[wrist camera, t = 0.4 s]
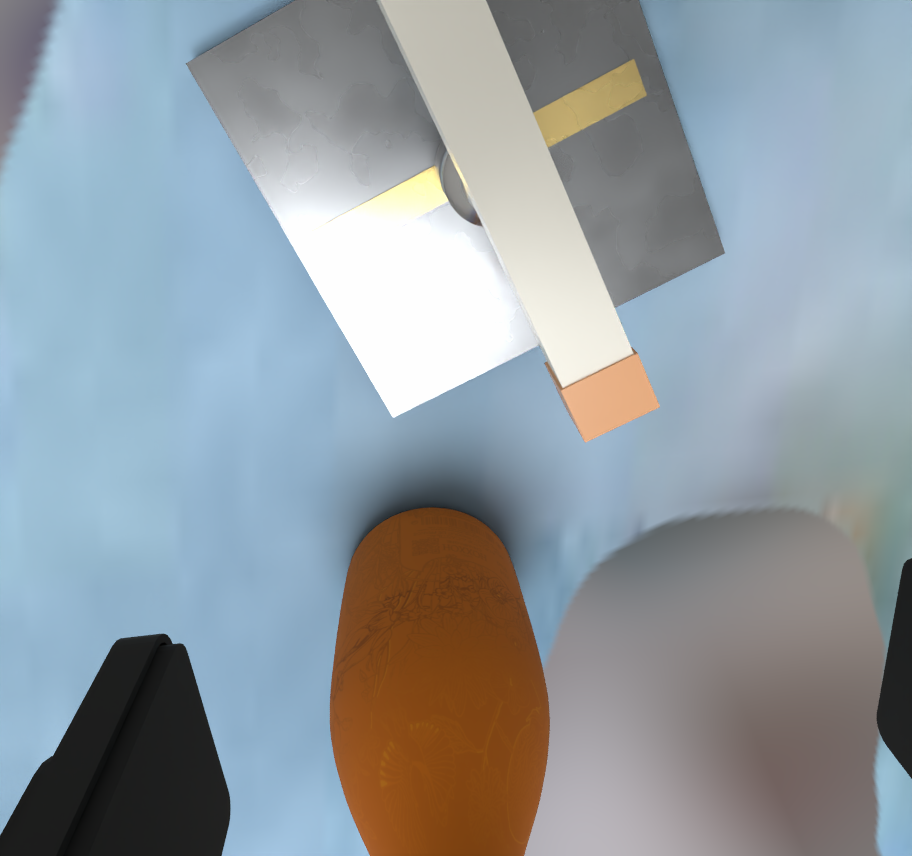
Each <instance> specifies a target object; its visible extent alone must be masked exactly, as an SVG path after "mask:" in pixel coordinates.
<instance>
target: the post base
mask: <svg viewBox="0 0 912 856" xmlns="http://www.w3.org/2000/svg"><path fill="white" fill-rule="evenodd" d="M486 2H487V4H488V6H489V9H490V11H491V13H492V16H493V18H494V21H495V23H496V25H497V28H498V30H499V33H500V35H501V37H502V40H503V42H504V45H505V47H506V49H507V52H508V54H509V57H510V59H511V61H512V64H513V66H514V69H515V71H516V73H517V76H518V78H519V80H520V83H521V85H522V88H523V90H524V92H525V95H526V97H527V100H528V102H529V104H530V107H531V109H532V112H533V114H534V116H535V119H536V121H537V124H538V126H539V128H540V131H541V133H542V136H543V138H544V140H545V143H546V145H547V147H548V150H549V152H550V155H551V157H552V159H553V162H554V164H555V167H556V169H557V171H558V174H559V176H560V179H561V181H562V183H563V186H564V188H565V191H566V193H567V195H568V198H569V200H570V203H571V205H572V207H573V210H574V212H575V214H576V217H577V219H578V222H579V224H580V226H581V229H582V231H583V234H584V236H585V238H586V241H587V243H588V246H589V248H590V250H591V253H592V255H593V258H594V260H595V262H596V265H597V267H598V270H599V272H600V274H601V277H602V279H603V282H604V284H605V286H606V289H607V291H608V293H609V296H610V298H611V301H612V303H613V305H614V308H615V307H617V306H619V305H621V304H623V303H626V302H628V301H630V300H632V299H634V298H636V297H638V296H640V295H642V294H644V293H646V292H648V291H650V290H652V289H654V288H656V287H658V286H660V285H662V284H664V283H666V282H668V281H670V280H672V279H674V278H676V277H678V276H680V275H682V274H684V273H686V272H688V271H690V270H692V269H694V268H696V267H698V266H700V265H702V264H704V263H706V262H708V261H710V260H712V259H714V258H716V257H718V256H720V255H722V254H724V253H725V252H724V249H723V246H722V243H721V240H720V237H719V234H718V231H717V228H716V225H715V222H714V219H713V216H712V214H711V211H710V208H709V205H708V202H707V199H706V196H705V193H704V190H703V187H702V184H701V181H700V178H699V176H698V173H697V170H696V167H695V164H694V161H693V158H692V155H691V152H690V149H689V146H688V143H687V140H686V138H685V135H684V132H683V129H682V126H681V123H680V120H679V117H678V114H677V111H676V108H675V105H674V102H673V100H672V97H671V94H670V91H669V88H668V85H667V82H666V79H665V76H664V73H663V70H662V67H661V64H660V62H659V59H658V56H657V53H656V50H655V47H654V44H653V41H652V38H651V35H650V32H649V29H648V26H647V24H646V21H645V18H644V15H643V12H642V9H641V6H640V3H639V0H486ZM186 65H187V66H188V68H189V70H190V72H191V73H192V75H193V77H194V78H195V80H196V82H197V83H198V85H199V87H200V89H201V90H202V92H203V94H204V95H205V97H206V99H207V101H208V102H209V104H210V106H211V107H212V109H213V111H214V113H215V114H216V116H217V118H218V119H219V121H220V123H221V124H222V126H223V128H224V130H225V131H226V133H227V135H228V136H229V138H230V140H231V142H232V143H233V145H234V147H235V148H236V150H237V152H238V154H239V155H240V157H241V159H242V160H243V162H244V164H245V165H246V167H247V169H248V171H249V172H250V174H251V176H252V177H253V179H254V181H255V183H256V184H257V186H258V188H259V189H260V191H261V193H262V195H263V196H264V198H265V200H266V201H267V203H268V205H269V206H270V208H271V210H272V212H273V213H274V215H275V217H276V218H277V220H278V222H279V224H280V225H281V227H282V229H283V230H284V232H285V234H286V236H287V237H288V239H289V241H290V242H291V244H292V246H293V247H294V249H295V251H296V253H297V254H298V256H299V258H300V259H301V261H302V263H303V265H304V266H305V268H306V270H307V271H308V273H309V275H310V277H311V278H312V280H313V282H314V283H315V285H316V287H317V288H318V290H319V292H320V294H321V295H322V297H323V299H324V300H325V302H326V304H327V306H328V307H329V309H330V311H331V312H332V314H333V316H334V318H335V319H336V321H337V323H338V324H339V326H340V328H341V329H342V331H343V333H344V335H345V336H346V338H347V340H348V341H349V343H350V345H351V347H352V348H353V350H354V352H355V353H356V355H357V357H358V359H359V360H360V362H361V364H362V365H363V367H364V369H365V370H366V372H367V374H368V376H369V377H370V379H371V381H372V382H373V384H374V386H375V388H376V389H377V391H378V393H379V394H380V396H381V398H382V400H383V401H384V403H385V405H386V406H387V408H388V410H389V411H390V413H391V415H392V417H393V418H394V417H396V416H398V415H400V414H402V413H404V412H406V411H408V410H410V409H412V408H414V407H416V406H418V405H420V404H422V403H424V402H426V401H428V400H430V399H432V398H434V397H436V396H438V395H440V394H442V393H444V392H446V391H448V390H450V389H452V388H454V387H456V386H458V385H460V384H462V383H464V382H466V381H468V380H470V379H472V378H474V377H476V376H478V375H480V374H482V373H484V372H486V371H488V370H490V369H492V368H494V367H496V366H499V365H501V364H503V363H505V362H507V361H509V360H511V359H513V358H515V357H517V356H519V355H521V354H523V353H525V352H527V351H529V350H531V349H533V348H535V347H537V346H539V343H538V341H537V339H536V337H535V335H534V333H533V331H532V329H531V326H530V324H529V322H528V320H527V318H526V316H525V314H524V312H523V310H522V307H521V305H520V303H519V301H518V299H517V297H516V295H515V293H514V290H513V288H512V286H511V284H510V282H509V280H508V278H507V276H506V274H505V271H504V269H503V267H502V265H501V263H500V261H499V259H498V257H497V254H496V252H495V250H494V248H493V246H492V244H491V242H490V240H489V238H488V235H487V233H486V231H485V229H484V227H483V225H482V223H481V221H480V218H479V216H478V214H477V212H476V210H475V209H474V208H473V206H472V205H471V204H470V203H469V201H468V200H467V199H466V197H465V195H464V194H463V191H462V188H461V183H460V176H459V174H458V172H457V170H456V168H455V166H454V163H453V161H452V159H451V157H450V155H449V153H448V151H447V149H446V146H445V144H444V142H443V140H442V138H441V136H440V134H439V132H438V130H437V127H436V125H435V123H434V121H433V119H432V117H431V115H430V113H429V110H428V108H427V106H426V104H425V102H424V100H423V98H422V96H421V94H420V91H419V89H418V87H417V85H416V83H415V81H414V79H413V77H412V74H411V72H410V70H409V68H408V66H407V64H406V62H405V60H404V58H403V55H402V53H401V51H400V49H399V47H398V45H397V43H396V41H395V38H394V36H393V34H392V32H391V30H390V28H389V26H388V24H387V22H386V19H385V17H384V15H383V13H382V11H381V9H380V7H379V5H378V3H377V0H295V1H293V2H291V3H290V4H288V5H286V6H285V7H283V8H281V9H279V10H278V11H276V12H274V13H272V14H271V15H269V16H267V17H266V18H264V19H262V20H260V21H259V22H257V23H255V24H253V25H252V26H250V27H248V28H247V29H245V30H243V31H241V32H240V33H238V34H236V35H234V36H233V37H231V38H229V39H228V40H226V41H224V42H222V43H221V44H219V45H217V46H215V47H214V48H212V49H210V50H209V51H207V52H205V53H203V54H202V55H200V56H198V57H196V58H195V59H193V60H191V61H190V62H188V63H186Z"/></svg>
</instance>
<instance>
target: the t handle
mask: <svg viewBox="0 0 912 856" xmlns="http://www.w3.org/2000/svg"><path fill="white" fill-rule="evenodd" d="M377 3H378V5H379V7H380V9H381V11H382V13H383V15H384V17H385V19H386V22H387V24H388V26H389V28H390V30H391V32H392V34H393V36H394V38H395V41H396V43H397V45H398V47H399V49H400V51H401V53H402V55H403V58H404V60H405V62H406V64H407V66H408V68H409V70H410V72H411V74H412V77H413V79H414V81H415V83H416V85H417V87H418V89H419V91H420V94H421V96H422V98H423V100H424V102H425V104H426V106H427V108H428V110H429V113H430V115H431V117H432V119H433V121H434V123H435V125H436V127H437V130H438V132H439V134H440V136H441V138H442V140H443V142H444V144H445V146H446V149H447V151H448V153H449V155H450V157H451V159H452V161H453V163H454V166H455V168H456V170H457V172H458V174H459V176H460V183H461V188H462V191H463V194H464V195H465V197H466V199H467V200H468V201H469V203H470V204H471V205H472V206H473V208H474V209H475V210H476V212H477V214H478V216H479V218H480V221H481V223H482V225H483V227H484V229H485V231H486V233H487V235H488V238H489V240H490V242H491V244H492V246H493V248H494V250H495V252H496V254H497V257H498V259H499V261H500V263H501V265H502V267H503V269H504V271H505V274H506V276H507V278H508V280H509V282H510V284H511V286H512V288H513V290H514V293H515V295H516V297H517V299H518V301H519V303H520V305H521V307H522V310H523V312H524V314H525V316H526V318H527V320H528V322H529V324H530V326H531V329H532V331H533V333H534V335H535V337H536V339H537V341H538V343H539V346H540V348H541V350H542V352H543V354H544V356H545V358H546V360H547V362H545V365H546V367H547V370H548V372H549V374H550V376H551V378H552V380H553V382H554V384H555V386H556V389H557V391H558V393H559V395H560V397H561V399H562V401H563V403H564V405H565V407H566V410H567V411H568V413H569V415H570V417H571V419H572V420H573V422H574V424H575V426H576V427H577V429H578V431H579V433H580V434H581V436H582V438H583V440H584V441H585V442H587V441H589V440H592V439H594V438H596V437H598V436H600V435H602V434H604V433H606V432H608V431H610V430H613V429H615V428H617V427H619V426H621V425H623V424H625V423H627V422H629V421H631V420H634V419H636V418H638V417H640V416H642V415H644V414H646V413H648V412H650V411H653V410H655V409H657V408H659V407H660V406H659V403H658V401H657V399H656V396H655V394H654V391H653V389H652V387H651V384H650V382H649V379H648V377H647V375H646V372H645V370H644V367H643V365H642V363H641V360H640V358H639V355H638V353H637V352H636V351H635V350H634V349H633V348H632V347H631V346H630V344H629V341H628V339H627V337H626V334H625V332H624V329H623V327H622V325H621V322H620V320H619V317H618V315H617V313H616V310H615V308H614V305H613V303H612V301H611V298H610V296H609V293H608V291H607V289H606V286H605V284H604V282H603V279H602V277H601V274H600V272H599V270H598V267H597V265H596V262H595V260H594V258H593V255H592V253H591V250H590V248H589V246H588V243H587V241H586V238H585V236H584V234H583V231H582V229H581V226H580V224H579V222H578V219H577V217H576V214H575V212H574V210H573V207H572V205H571V203H570V200H569V198H568V195H567V193H566V191H565V188H564V186H563V183H562V181H561V179H560V176H559V174H558V171H557V169H556V167H555V164H554V162H553V159H552V157H551V155H550V152H549V150H548V147H547V145H546V143H545V140H544V138H543V136H542V133H541V131H540V128H539V126H538V124H537V121H536V119H535V116H534V114H533V112H532V109H531V107H530V104H529V102H528V100H527V97H526V95H525V92H524V90H523V88H522V85H521V83H520V80H519V78H518V76H517V73H516V71H515V69H514V66H513V64H512V61H511V59H510V57H509V54H508V52H507V49H506V47H505V45H504V42H503V40H502V37H501V35H500V33H499V30H498V28H497V25H496V23H495V21H494V18H493V16H492V13H491V11H490V9H489V6H488V4H487V2H486V0H377Z"/></svg>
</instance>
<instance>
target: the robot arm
mask: <svg viewBox="0 0 912 856" xmlns="http://www.w3.org/2000/svg"><path fill="white" fill-rule="evenodd" d="M877 724H878V728H879V732H880V734H881V736H882V739H883V741H884V742H885V744H886V745H887V747H888V748H889V749H890V751H891V752H892V753H893V755H894V756H895V757H896V759H897V760H898V761H899V763H900V764H901V765H902V767H903V768H904V769H905V770H906V772H907V773H908V774H909V776H910V777H911V778H912V558H911V559H909V560H907V561H906V562H905V563H904V566H903V569H902V574H901V580H900V585H899V591H898V596H897V602H896V608H895V613H894V619H893V625H892V630H891V636H890V642H889V647H888V653H887V659H886V664H885V670H884V676H883V681H882V687H881V693H880V698H879V705H878V710H877ZM229 821H230V796H229V791H228V788H227V785H226V781H225V778H224V774H223V771H222V768H221V764H220V761H219V757H218V754H217V751H216V747H215V744H214V741H213V737H212V734H211V730H210V727H209V724H208V720H207V717H206V713H205V710H204V707H203V703H202V700H201V697H200V693H199V690H198V686H197V683H196V680H195V676H194V673H193V669H192V666H191V663H190V659H189V656H188V653H187V650H186V648H185V646H184V645H183V644H180V643H179V644H172V641H171V639H170V638H169V637H168V635H166V634H156V635H147V636H138V637H130V638H121V639H119V640H117V641H116V642H115V643H114V645H113V646H112V648H111V649H110V651H109V653H108V655H107V657H106V659H105V661H104V662H103V664H102V666H101V668H100V670H99V672H98V674H97V675H96V677H95V679H94V681H93V683H92V685H91V687H90V688H89V690H88V692H87V694H86V696H85V698H84V700H83V701H82V703H81V705H80V707H79V709H78V711H77V713H76V714H75V716H74V718H73V720H72V722H71V724H70V725H69V727H68V729H67V731H66V733H65V735H64V737H63V738H62V740H61V742H60V744H59V746H58V748H57V750H56V751H55V753H54V755H53V756H51V757H50V758H49V759H47V760H46V761H44V762H43V763H42V764H41V766H40V767H39V768H38V770H37V771H36V773H35V774H34V776H33V777H32V779H31V781H30V783H29V785H28V786H27V788H26V790H25V792H24V794H23V795H22V797H21V799H20V801H19V803H18V805H17V806H16V808H15V810H14V812H13V814H12V815H11V817H10V819H9V821H8V823H7V824H6V826H5V828H4V830H3V832H2V833H1V835H0V856H221V855H222V851H223V847H224V843H225V839H226V835H227V830H228V826H229Z"/></svg>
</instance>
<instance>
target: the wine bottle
mask: <svg viewBox="0 0 912 856" xmlns="http://www.w3.org/2000/svg"><path fill="white" fill-rule="evenodd" d="M330 731H331V740H332V746H333V752H334V758H335V763H336V767H337V771H338V774H339V778H340V781H341V785H342V788H343V791H344V795H345V798H346V801H347V804H348V806H349V809H350V812H351V814H352V817H353V819H354V821H355V824H356V826H357V828H358V831H359V833H360V835H361V838H362V840H363V842H364V844H365V846H366V848H367V850H368V852H369V854H370V856H524V854H525V850H526V847H527V843H528V840H529V836H530V833H531V829H532V826H533V823H534V820H535V816H536V813H537V809H538V805H539V801H540V797H541V792H542V787H543V781H544V776H545V771H546V764H547V756H548V745H549V731H550V717H549V702H548V694H547V688H546V683H545V678H544V673H543V668H542V664H541V659H540V655H539V651H538V648H537V644H536V640H535V636H534V633H533V629H532V626H531V622H530V619H529V615H528V612H527V609H526V605H525V602H524V599H523V595H522V592H521V589H520V585H519V582H518V579H517V576H516V573H515V570H514V567H513V564H512V562H511V559H510V557H509V554H508V552H507V550H506V548H505V547H504V545H503V543H502V542H501V540H500V539H499V538H498V536H497V535H496V534H495V533H494V532H493V531H492V530H491V529H490V528H489V527H488V526H486V525H485V524H484V523H483V522H481V521H479V520H478V519H476V518H474V517H472V516H470V515H468V514H466V513H463V512H460V511H456V510H452V509H446V508H435V507H430V508H419V509H413V510H409V511H405V512H402V513H399V514H397V515H394V516H392V517H390V518H388V519H387V520H385V521H383V522H382V523H380V524H379V525H377V526H376V527H375V528H374V529H373V530H372V531H370V532H369V533H368V534H367V536H366V537H365V538H364V539H363V540H362V542H361V543H360V545H359V546H358V548H357V549H356V551H355V553H354V555H353V557H352V560H351V563H350V566H349V569H348V572H347V577H346V583H345V588H344V593H343V599H342V605H341V611H340V618H339V625H338V632H337V639H336V647H335V655H334V664H333V672H332V682H331V694H330Z"/></svg>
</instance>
